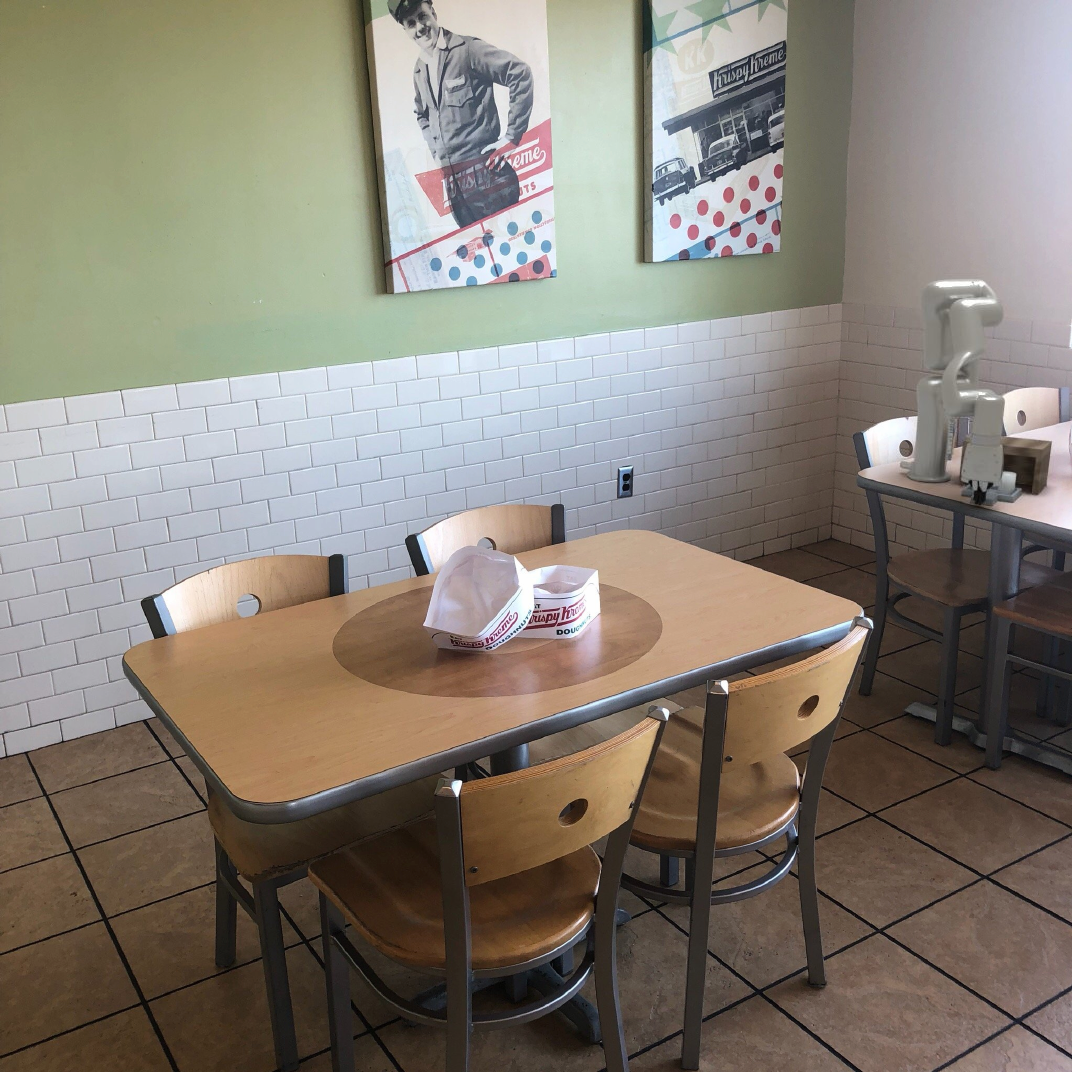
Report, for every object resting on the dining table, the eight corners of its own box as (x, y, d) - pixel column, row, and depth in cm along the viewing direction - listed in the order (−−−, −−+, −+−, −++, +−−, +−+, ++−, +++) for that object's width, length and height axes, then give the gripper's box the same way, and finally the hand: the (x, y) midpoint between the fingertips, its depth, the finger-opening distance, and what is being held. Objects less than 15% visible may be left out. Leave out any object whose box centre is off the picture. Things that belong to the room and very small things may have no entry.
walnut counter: (958, 484, 318) (962, 441, 314) (969, 476, 327) (973, 433, 323) (1037, 495, 305) (1042, 449, 301) (1046, 485, 314) (1052, 441, 310)
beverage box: (928, 458, 349) (934, 392, 342) (931, 451, 358) (937, 386, 352) (950, 460, 346) (957, 393, 339) (953, 452, 356) (959, 387, 349)
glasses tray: (955, 500, 302) (957, 478, 300) (971, 487, 314) (973, 466, 312) (1007, 508, 294) (1010, 485, 292) (1021, 494, 306) (1023, 472, 304)
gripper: (953, 439, 292) (947, 503, 298) (1011, 445, 283) (1003, 511, 289) (961, 434, 298) (955, 496, 303) (1018, 440, 289) (1010, 504, 295)
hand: (979, 503), depth 296 cm, fingers closed
